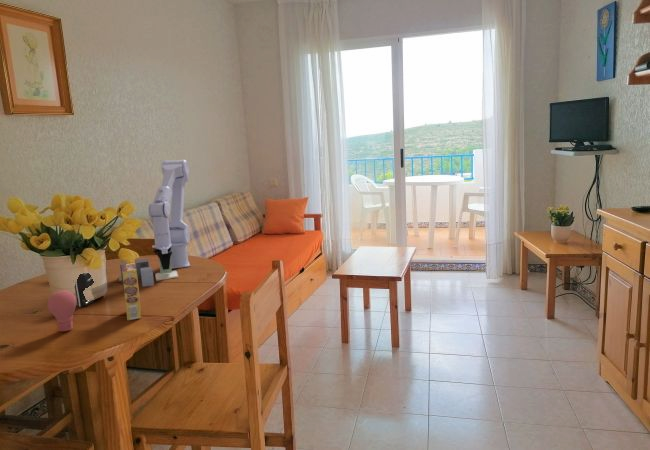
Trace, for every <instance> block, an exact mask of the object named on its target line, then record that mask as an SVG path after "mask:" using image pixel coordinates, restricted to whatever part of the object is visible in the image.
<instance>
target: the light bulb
mask: <svg viewBox="0 0 650 450" xmlns="http://www.w3.org/2000/svg"><path fill="white" fill-rule="evenodd" d="M76 307H77V297H76V295H75V294H73V292H72V291H69V290H65V289H63V290H62V289H61V290H58V291H55V292H54V293H52V294H50V296H49V298H48V299H47V308H48V310H49V312H50V314H51V315H52V316H54V317H55V319H56V322H57V330H58V331H59V332H67V331H70V330H72V329H73V328H74V326H73V325H74V323H73V319H74V317H73V315H74V312H75V310H76Z"/></svg>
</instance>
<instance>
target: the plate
mask: <svg viewBox="0 0 650 450" xmlns="http://www.w3.org/2000/svg"><path fill="white" fill-rule="evenodd" d="M154 274H155V281H163V280H168V279H170V280H171V279H177V278H179V274H178V272H177V270H172V273H164V274H161V272H157V273H156V272H155V273H154Z"/></svg>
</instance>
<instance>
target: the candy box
mask: <svg viewBox="0 0 650 450" xmlns="http://www.w3.org/2000/svg"><path fill="white" fill-rule="evenodd" d="M121 266H122V276H123V282H122V285H123V294H124V305H125V311H126V320H127V321H133V320H140V319H141V318H142V313H141V311H142V310H141V301H140V299H141V298H140V291H139V290H140V289H139V280H138V278H137V270H136V265H135V263H130V264H124V265H121Z"/></svg>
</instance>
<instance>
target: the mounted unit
mask: <svg viewBox="0 0 650 450" xmlns="http://www.w3.org/2000/svg"><path fill="white" fill-rule="evenodd" d="M134 260H135V265H136V270H137V278H138V281H140V280H141V281H142V278H141V269H140V268H145V267H150V265H149V258H140V259H134ZM125 261H126V260H125ZM125 261H120V262H119V267H120V275H119V276H118V283H119V284H120V283H123V276H122V266H121V265H124V264H128V263H127V262H125Z"/></svg>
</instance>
